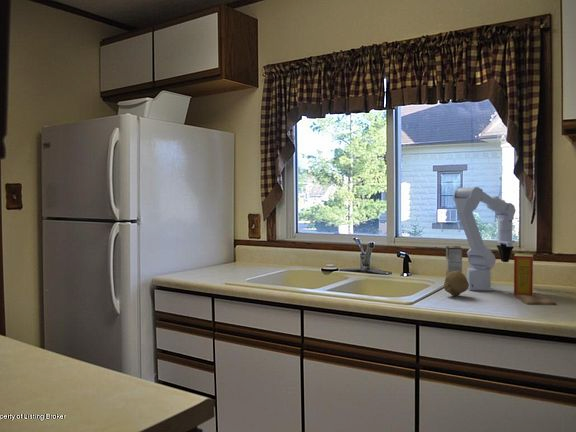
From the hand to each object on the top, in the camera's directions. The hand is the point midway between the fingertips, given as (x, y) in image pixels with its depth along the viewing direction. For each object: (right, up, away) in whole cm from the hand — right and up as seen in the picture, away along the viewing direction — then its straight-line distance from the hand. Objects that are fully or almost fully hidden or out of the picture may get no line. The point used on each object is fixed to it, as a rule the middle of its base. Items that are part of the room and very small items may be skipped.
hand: (504, 261), depth 220 cm
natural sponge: (-28, -12, -22) cm, 38 cm away
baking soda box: (-1, -11, -19) cm, 22 cm away
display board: (-2, -12, -32) cm, 34 cm away
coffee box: (-19, -10, +11) cm, 24 cm away
